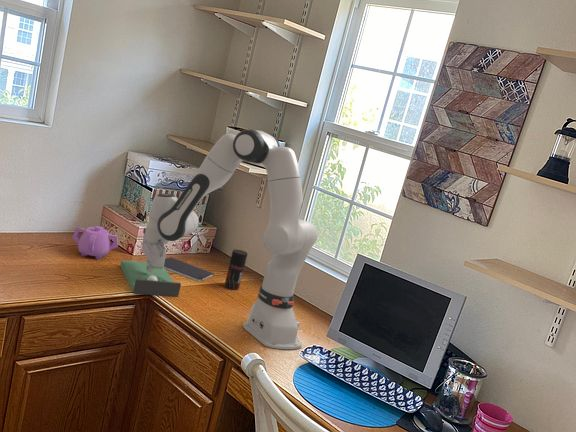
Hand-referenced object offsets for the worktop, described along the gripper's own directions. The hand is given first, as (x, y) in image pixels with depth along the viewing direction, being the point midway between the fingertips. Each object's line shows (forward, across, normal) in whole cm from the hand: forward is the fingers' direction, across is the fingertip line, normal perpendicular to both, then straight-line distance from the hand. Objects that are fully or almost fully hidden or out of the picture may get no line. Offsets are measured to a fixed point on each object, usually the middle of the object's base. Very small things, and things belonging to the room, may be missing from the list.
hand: (149, 271), depth 221 cm
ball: (+2, -5, 0) cm, 6 cm away
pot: (+4, +24, +16) cm, 29 cm away
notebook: (+5, +16, -19) cm, 25 cm away
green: (+4, +1, 0) cm, 4 cm away
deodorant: (+4, 0, -34) cm, 35 cm away
